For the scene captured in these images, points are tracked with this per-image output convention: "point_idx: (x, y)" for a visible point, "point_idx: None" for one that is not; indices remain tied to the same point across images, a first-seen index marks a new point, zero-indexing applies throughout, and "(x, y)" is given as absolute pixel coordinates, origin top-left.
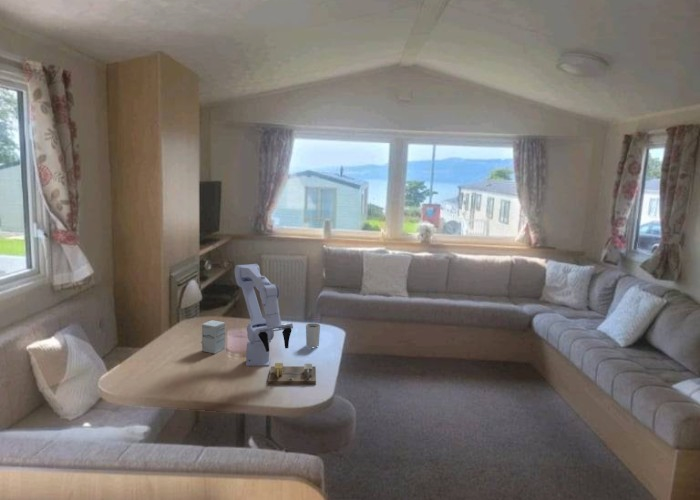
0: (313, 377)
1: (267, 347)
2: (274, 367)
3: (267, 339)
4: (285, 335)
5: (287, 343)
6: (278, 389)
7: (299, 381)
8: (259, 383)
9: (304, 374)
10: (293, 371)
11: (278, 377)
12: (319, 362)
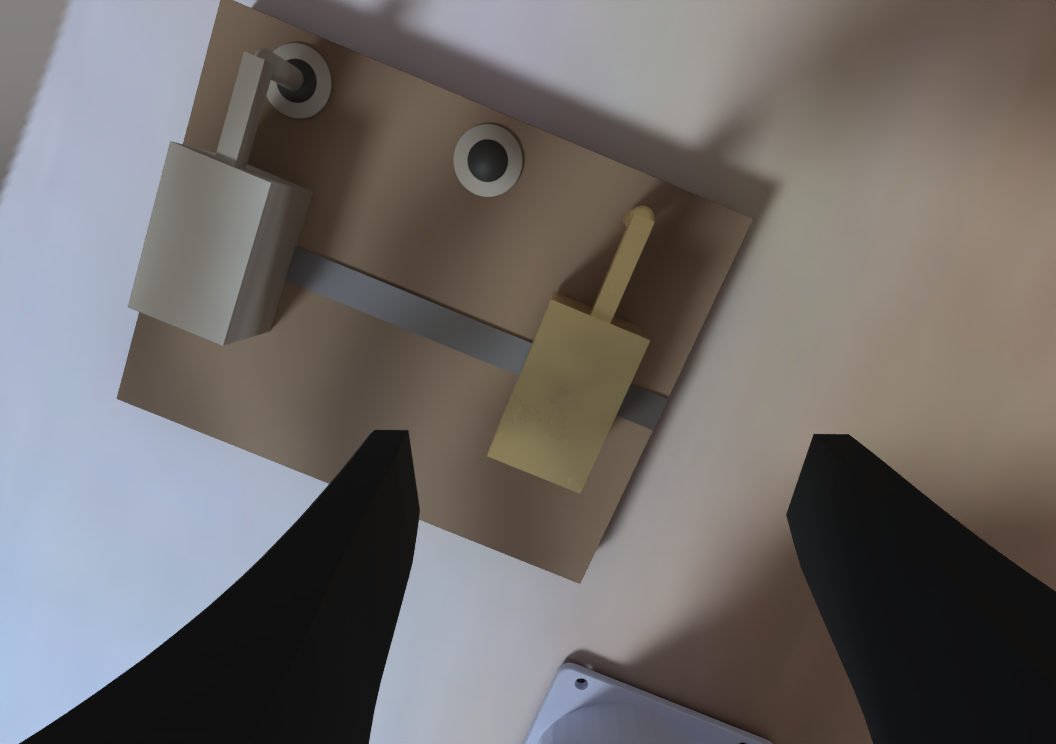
0: (221, 108)
1: (899, 484)
2: (642, 356)
3: (1026, 652)
4: (307, 722)
5: (355, 485)
6: (676, 57)
7: (409, 77)
8: (809, 293)
9: (302, 188)
10: (390, 363)
11: (628, 211)
12: (56, 548)
